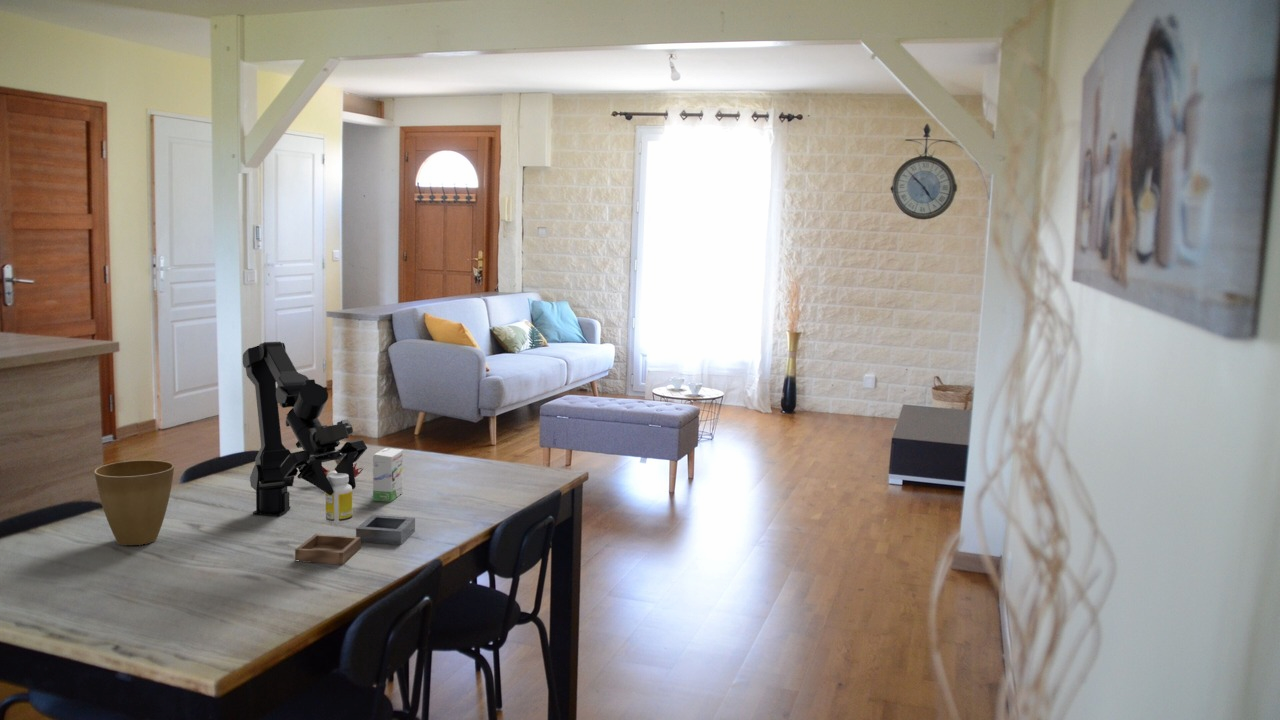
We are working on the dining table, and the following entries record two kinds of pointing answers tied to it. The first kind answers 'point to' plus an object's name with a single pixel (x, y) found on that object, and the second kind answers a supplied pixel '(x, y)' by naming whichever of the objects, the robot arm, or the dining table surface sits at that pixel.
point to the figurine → (336, 472)
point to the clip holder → (386, 529)
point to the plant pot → (135, 498)
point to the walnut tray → (328, 549)
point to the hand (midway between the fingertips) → (343, 491)
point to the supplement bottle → (339, 500)
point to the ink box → (387, 474)
